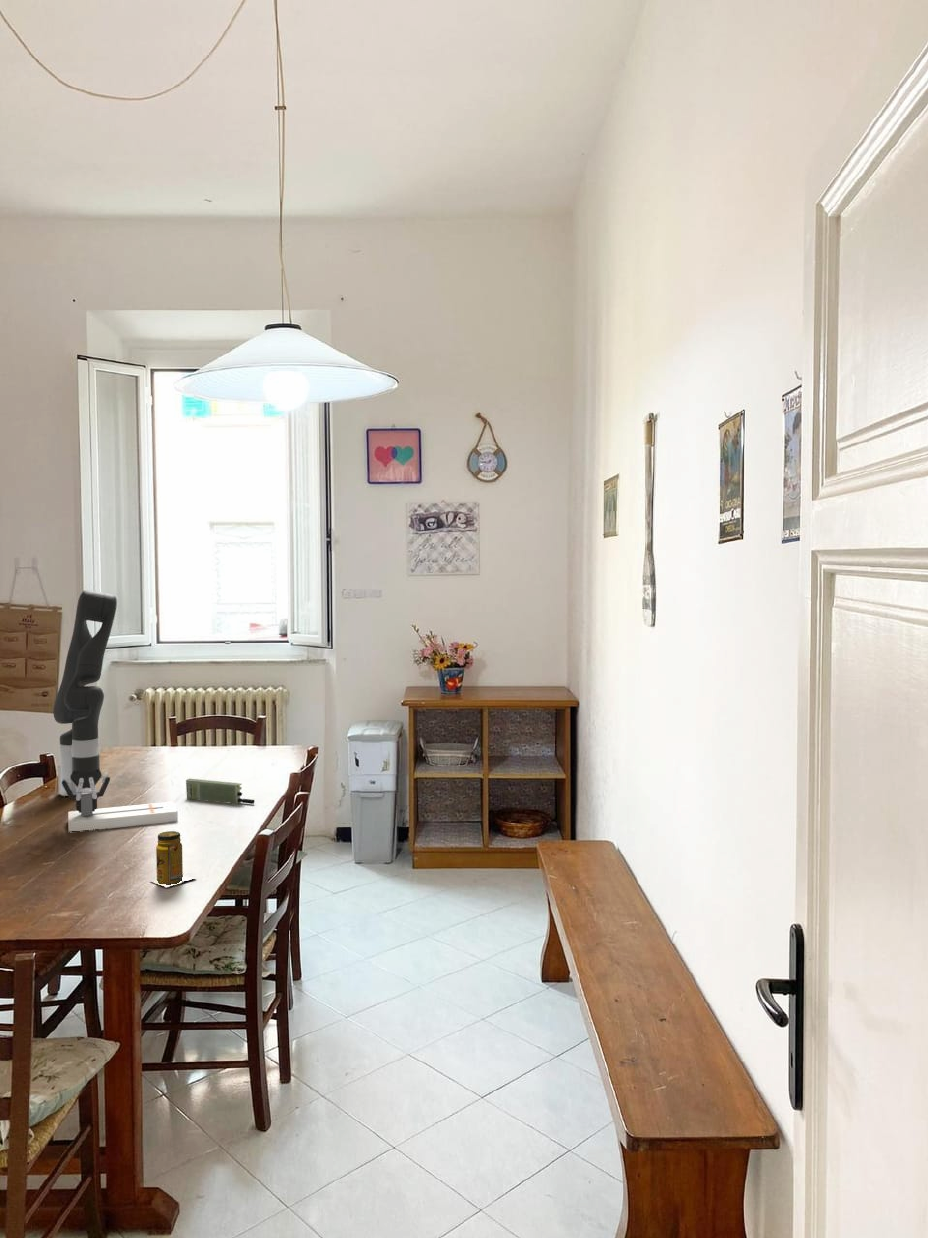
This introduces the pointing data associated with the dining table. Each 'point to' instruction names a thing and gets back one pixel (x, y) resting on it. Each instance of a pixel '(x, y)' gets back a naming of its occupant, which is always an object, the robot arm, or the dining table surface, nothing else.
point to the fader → (86, 803)
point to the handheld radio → (215, 791)
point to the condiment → (169, 858)
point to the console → (123, 816)
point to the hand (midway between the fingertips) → (86, 811)
